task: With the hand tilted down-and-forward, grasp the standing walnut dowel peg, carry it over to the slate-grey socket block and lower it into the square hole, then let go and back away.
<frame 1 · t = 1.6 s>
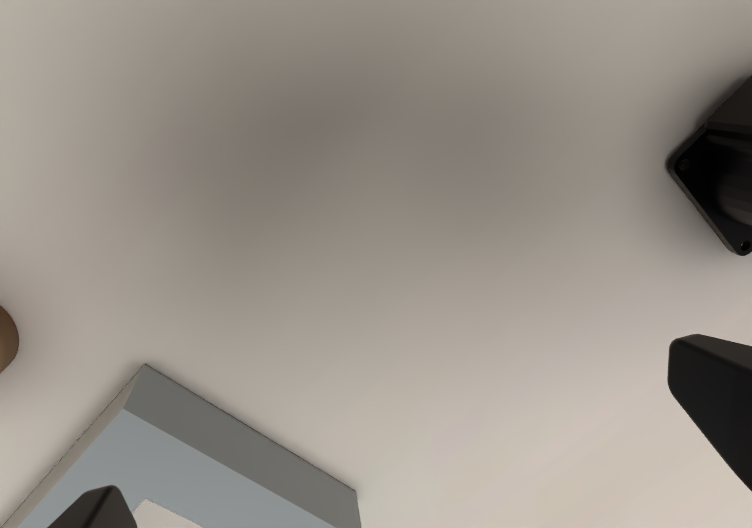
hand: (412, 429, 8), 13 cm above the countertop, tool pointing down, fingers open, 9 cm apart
socket: (179, 517, 24), on the countertop
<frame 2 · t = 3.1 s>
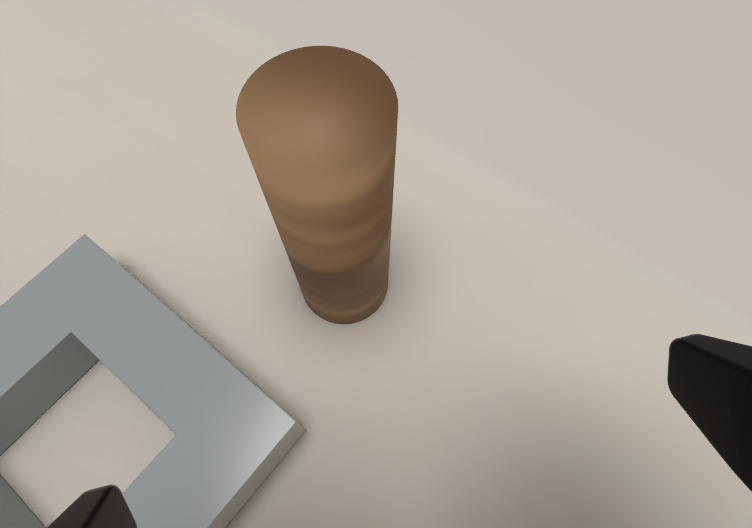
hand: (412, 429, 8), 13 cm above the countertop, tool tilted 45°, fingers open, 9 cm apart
peg: (344, 282, 23), on the countertop
socket: (97, 452, 20), on the countertop
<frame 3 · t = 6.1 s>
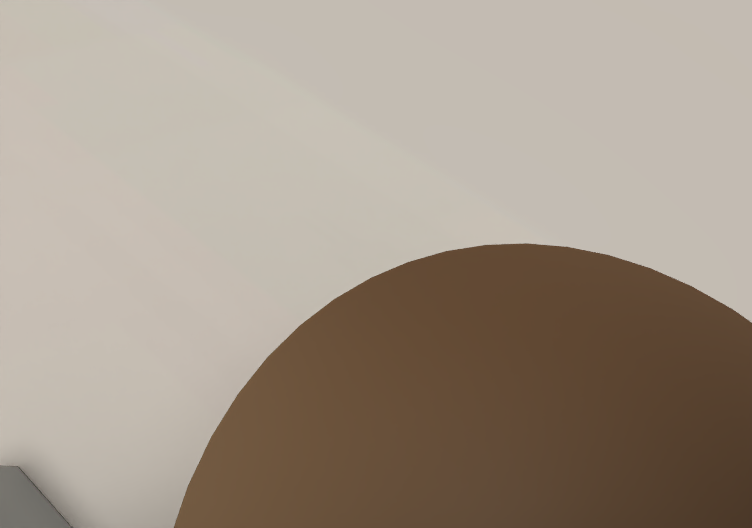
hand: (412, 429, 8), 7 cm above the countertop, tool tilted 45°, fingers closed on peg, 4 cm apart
peg: (409, 506, 13), on the countertop, touching gripper
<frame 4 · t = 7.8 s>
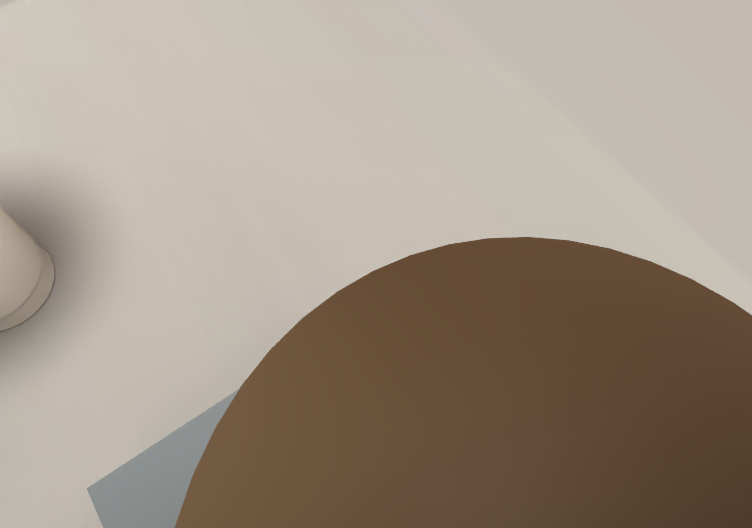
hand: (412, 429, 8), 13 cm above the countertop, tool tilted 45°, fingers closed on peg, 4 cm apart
cup with straw: (12, 287, 23), on the countertop
peg: (410, 504, 13), point 7 cm above the countertop, touching gripper
when the fingers open (8 cm above the countertop, at t = 9.7 s): peg drops 1 cm, resting in socket.
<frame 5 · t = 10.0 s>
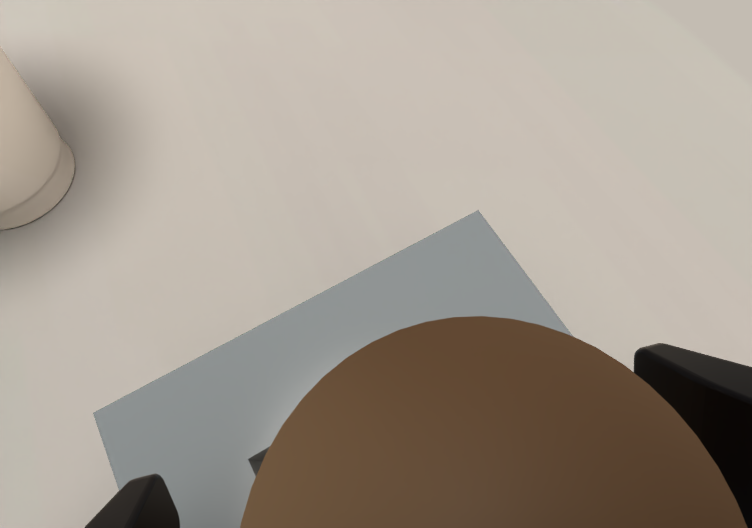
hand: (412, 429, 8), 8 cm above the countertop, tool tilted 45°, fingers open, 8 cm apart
cup with straw: (24, 181, 19), on the countertop
peg: (406, 504, 15), resting in socket
socket: (406, 503, 15), on the countertop
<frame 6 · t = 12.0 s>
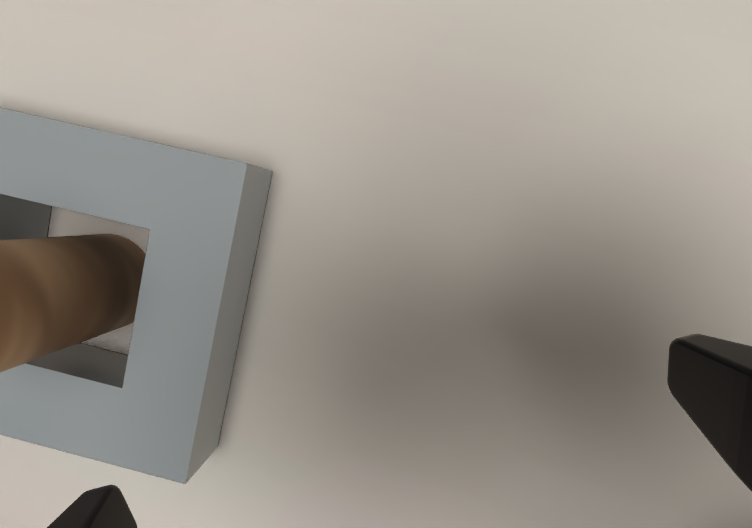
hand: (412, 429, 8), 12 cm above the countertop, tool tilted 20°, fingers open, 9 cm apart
peg: (109, 281, 21), resting in socket
socket: (108, 280, 21), on the countertop
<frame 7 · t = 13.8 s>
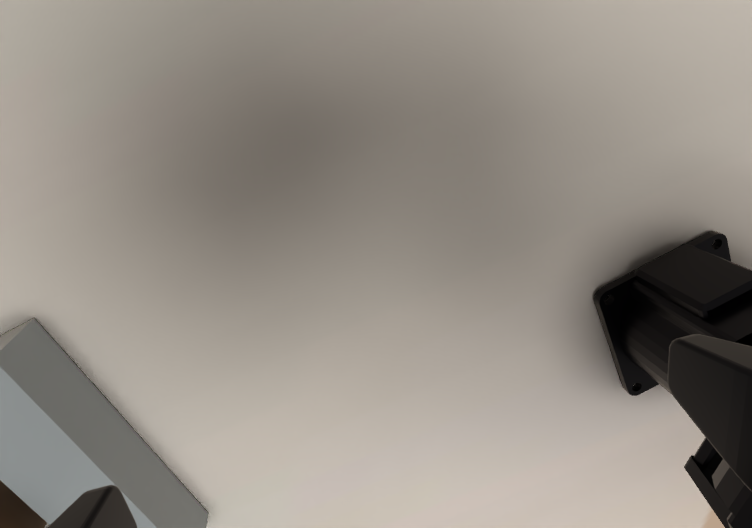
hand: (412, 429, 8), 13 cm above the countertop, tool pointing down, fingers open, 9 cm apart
peg: (8, 489, 22), resting in socket
socket: (7, 490, 22), on the countertop
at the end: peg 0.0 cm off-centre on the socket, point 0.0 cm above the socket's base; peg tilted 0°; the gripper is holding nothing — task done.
